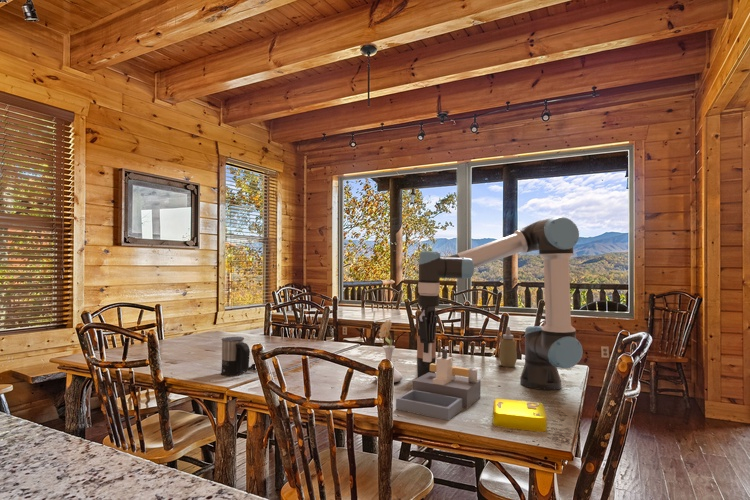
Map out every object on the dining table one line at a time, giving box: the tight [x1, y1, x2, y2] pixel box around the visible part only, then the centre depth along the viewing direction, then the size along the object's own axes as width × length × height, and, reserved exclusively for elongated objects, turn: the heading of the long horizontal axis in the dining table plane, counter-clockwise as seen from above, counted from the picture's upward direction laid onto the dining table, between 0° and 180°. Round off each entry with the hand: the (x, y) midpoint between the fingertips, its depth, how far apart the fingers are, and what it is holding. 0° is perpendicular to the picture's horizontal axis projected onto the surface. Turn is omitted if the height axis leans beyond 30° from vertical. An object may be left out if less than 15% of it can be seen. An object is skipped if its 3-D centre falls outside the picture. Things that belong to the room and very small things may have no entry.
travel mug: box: [416, 328, 437, 378], centre depth 181 cm, size 8×8×20 cm
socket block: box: [411, 372, 482, 409], centre depth 155 cm, size 20×14×6 cm
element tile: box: [492, 398, 548, 433], centre depth 134 cm, size 15×15×5 cm
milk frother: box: [220, 336, 256, 377], centre depth 186 cm, size 14×16×15 cm
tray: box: [395, 389, 463, 421], centre depth 142 cm, size 18×12×4 cm, turn 59°
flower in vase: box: [373, 319, 403, 384], centre depth 175 cm, size 13×11×25 cm
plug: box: [433, 348, 456, 385], centre depth 155 cm, size 4×11×14 cm, turn 149°
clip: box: [430, 363, 478, 383], centre depth 157 cm, size 18×3×4 cm, turn 59°
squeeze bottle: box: [498, 326, 518, 368], centre depth 205 cm, size 8×8×18 cm
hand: (427, 361), depth 155 cm, fingers closed
